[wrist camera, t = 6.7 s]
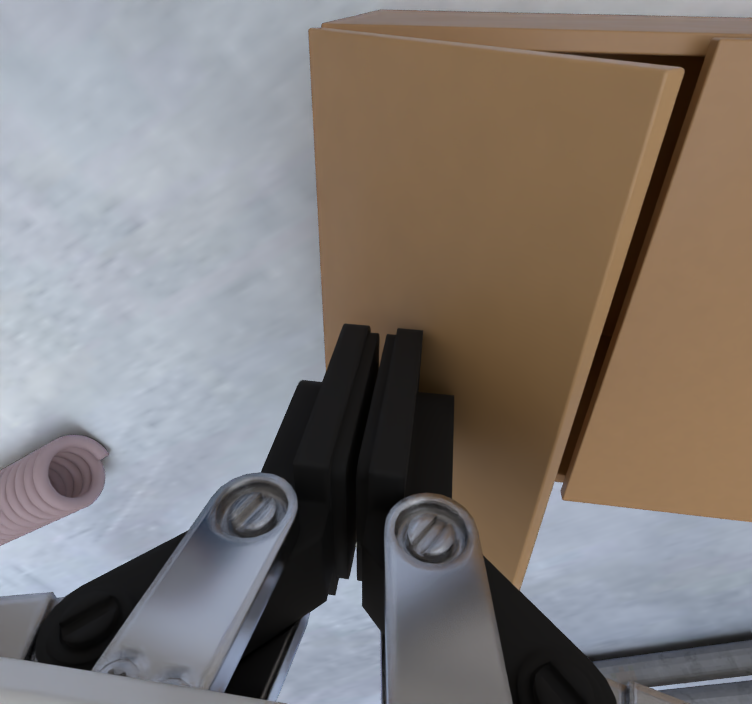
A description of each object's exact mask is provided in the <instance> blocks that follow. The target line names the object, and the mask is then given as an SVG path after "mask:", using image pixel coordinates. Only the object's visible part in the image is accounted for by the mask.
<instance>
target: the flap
mask: <svg viewBox="0 0 752 704" xmlns="http://www.w3.org/2000/svg"><path fill="white" fill-rule="evenodd" d="M308 34H309V53H310V72H311V92H312V111H313V130H314V150H315V169H316V188H317V208H318V227H319V246H320V266H321V285H322V304H323V324H324V343H325V363H326V370H327V368H328V365H329V362H330V359H331V357H332V354H333V351H334V348H335V346H336V343H337V340H338V337H339V335H340V332H341V329H342V326H343V324H345V323H346V324H357V325H369V326H370V329H371V333H379V336H380V343H379V366H380V361H381V357H382V352H383V348H384V344H385V339H386V335H387V334H393V335H396V332H397V329H398V328H403V329H414V330H423V341H422V354H421V366H420V379H419V391H418V392H426V393H436V394H446V395H454V438H453V479H452V499H454V500H455V501H457V502H458V503H459V504H461V505H462V506H464V507H465V508H466V509H467V511H468V512H469V513H470V514H471V516H472V517H473V518H474V521H475V523H476V526H477V529H478V532H479V537H480V542H481V547H482V552H483V555H484V556H485V557H486V558H487V559H488V560H489V561H490V562H491V563H492V564H493V565H494V566H495V567H496V568H497V569H498V570H499V571H500V572H501V573H502V574H503V575H504V576H505V577H506V578H507V579H508V580H509V581H510V582H511V583H512V584H513V585H514V586H515V587H516V588H517V589H518V590H519V591H520V588H521V585H522V582H523V579H524V576H525V573H526V569H527V566H528V563H529V560H530V557H531V554H532V551H533V547H534V544H535V541H536V538H537V535H538V532H539V528H540V525H541V522H542V519H543V516H544V513H545V510H546V506H547V503H548V500H549V497H550V494H551V491H552V488H553V484H554V481H555V478H556V475H557V472H558V469H559V466H560V462H561V459H562V456H563V453H564V450H565V447H566V443H567V440H568V437H569V434H570V431H571V428H572V425H573V421H574V418H575V415H576V412H577V409H578V406H579V403H580V399H581V396H582V393H583V390H584V387H585V384H586V381H587V377H588V374H589V371H590V368H591V365H592V362H593V359H594V355H595V352H596V349H597V346H598V343H599V340H600V336H601V333H602V330H603V327H604V324H605V321H606V318H607V314H608V311H609V308H610V305H611V302H612V299H613V296H614V292H615V289H616V286H617V283H618V280H619V277H620V274H621V270H622V267H623V264H624V261H625V258H626V255H627V251H628V248H629V245H630V242H631V239H632V236H633V233H634V229H635V226H636V223H637V220H638V217H639V214H640V211H641V207H642V204H643V201H644V198H645V195H646V192H647V189H648V185H649V182H650V179H651V176H652V173H653V170H654V166H655V163H656V160H657V157H658V154H659V151H660V148H661V144H662V141H663V138H664V135H665V132H666V129H667V126H668V122H669V119H670V116H671V113H672V110H673V107H674V104H675V100H676V97H677V94H678V91H679V88H680V85H681V82H682V78H683V75H684V69H683V68H682V67H676V66H666V65H657V64H648V63H639V62H630V61H621V60H612V59H603V58H594V57H585V56H576V55H567V54H558V53H549V52H540V51H530V50H521V49H512V48H503V47H494V46H485V45H476V44H467V43H458V42H449V41H440V40H431V39H422V38H413V37H403V36H394V35H385V34H376V33H367V32H358V31H349V30H340V29H331V28H310V29H309V30H308Z"/></svg>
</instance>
